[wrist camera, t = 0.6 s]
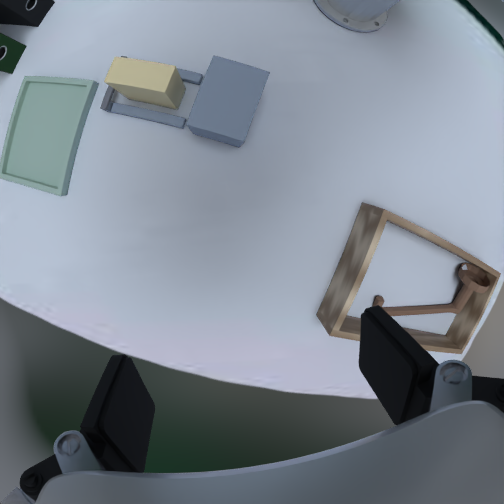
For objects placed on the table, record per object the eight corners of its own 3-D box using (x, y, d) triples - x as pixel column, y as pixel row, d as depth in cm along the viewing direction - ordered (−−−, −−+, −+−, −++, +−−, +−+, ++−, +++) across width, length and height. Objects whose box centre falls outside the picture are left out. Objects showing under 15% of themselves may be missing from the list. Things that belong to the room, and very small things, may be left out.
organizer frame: (362, 202, 38) (384, 209, 32) (481, 263, 44) (500, 273, 38) (316, 314, 42) (329, 335, 36) (445, 339, 49) (461, 353, 43)
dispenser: (127, 60, 29) (108, 38, 21) (259, 91, 32) (269, 72, 24) (106, 113, 30) (80, 102, 23) (239, 147, 34) (244, 141, 26)
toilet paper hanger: (362, 299, 46) (377, 331, 40) (381, 256, 41) (400, 287, 35) (457, 297, 49) (473, 321, 43) (476, 263, 44) (495, 286, 38)
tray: (30, 78, 26) (24, 76, 25) (98, 83, 29) (93, 80, 27) (4, 176, 30) (-3, 177, 28) (67, 194, 33) (60, 196, 31)
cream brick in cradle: (137, 79, 30) (114, 56, 21) (185, 89, 31) (175, 66, 22) (129, 99, 30) (104, 81, 22) (177, 109, 32) (164, 92, 23)
